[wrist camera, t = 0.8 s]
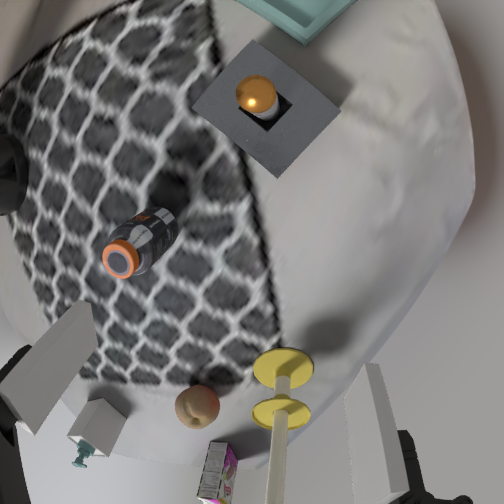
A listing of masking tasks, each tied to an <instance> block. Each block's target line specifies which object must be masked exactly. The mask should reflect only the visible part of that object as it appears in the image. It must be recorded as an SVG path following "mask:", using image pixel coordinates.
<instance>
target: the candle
mask: <svg viewBox="0 0 504 504" xmlns="http://www.w3.org/2000/svg"><path fill="white" fill-rule="evenodd" d="M253 369H254V375H255V376H256V377H257V379H258V380H259V381H260V382H261V383H263V384H264V385H266V386H268V387H271V388H274V398H270V399H267V400H263V401H261V402H259V403H258V404H256V405H255V406H254V408H253V410H252V412H251V415H252V419H253V420H254V421H255V422H256V423H257V424H258V425H259V426H262V427H264V428H266V429H270V430H272V439H271V450H270V460H269V471H268V480H267V489H266V499H265V504H283V501H284V487H285V472H286V454H287V435H288V430H293V429H297V428H299V427H301V426H303V425H305V424H306V423H307V422H308V420H309V419H310V410H309V408H308V407H307V406H306V404H304V403H302V402H300V401H298V400H295V399H291V398H290V389H292V388H295V387H299V386H301V385H302V384H304V383H305V382H307V381H308V380H309V378H310V377H311V375H312V374H313V363H312V362H311V360H310V358H309V357H308V356H307V355H305V354H304V353H302V352H301V351H298V350H294V349H290V348H275V349H272V350H269V351H266V352H264V353H263V354H262V355H260V356H259V357H258V358H257V359H256V361H255V363H254V366H253Z"/></svg>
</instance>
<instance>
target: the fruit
mask: <svg viewBox="0 0 504 504" xmlns="http://www.w3.org/2000/svg"><path fill="white" fill-rule="evenodd" d="M219 410H220V402H219V399H218V397H217V395H216V394H215V392H214V391H213V390H212V389H210V388H209V387H207V386H204V385H194V386H192V387H190V388H188V389H186V390H184V391H183V392H182V393H181V394H180V395H179V396H178V397H177V399H176V402H175V411H176V414H177V416H178V418H179V420H180V421H181V422H182V423H183V424H184V425H185V426H187V427H189V428H193V429H201V428H204V427H206V426H208V425H209V424H210V423H212V422H213V421H214V420H215V419H216V418H217V416H218V414H219Z"/></svg>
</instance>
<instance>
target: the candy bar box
mask: <svg viewBox="0 0 504 504" xmlns="http://www.w3.org/2000/svg"><path fill="white" fill-rule="evenodd" d="M237 464H238V460H237V459H236V457H235V455H234V453H233V451H232V449H231V447H230V445H229V443H228V442H212V441H210V444H209V448H208V452H207V456H206V460H205V464H204V469H203V473H202V477H201V481H200V485H199V490H198V493H197V498H198V499H199V500H200V501H201V502H202V503H203V504H231V500H232V494H233V487H234V482H235V475H236V470H237Z"/></svg>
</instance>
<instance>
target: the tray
mask: <svg viewBox="0 0 504 504" xmlns="http://www.w3.org/2000/svg"><path fill="white" fill-rule="evenodd" d="M235 1H237V2H239V3H240V4H242V5H244V6H246V7H247V8H249V9H251V10H252V11H254V12H255V13H257V14H259V15H260V16H262V17H263V18H265V19H266V20H268V21H269V22H271V23H272V24H274V25H275V26H277V27H278V28H280V29H281V30H283V31H284V32H285V33H287V34H288V35H290V36H291V37H292V38H294V39H295V40H297V41H298V42H299V43H301V44H302V45H303V46H304V47H305V46H307V45H308V44H309V43H310V42H311V41H312V40H313V39H314V38H315V37H316V36H317V35H318V34H319V33H320V32H322V31H323V30H324V29H325V28H326V27H327V26H328V25H329V24H330V23H332V22H333V21H334V20H335V19H336V18H337V17H338V16H340V15H341V14H342V13H343V12H344V11H345V10H347V9H348V8H349V7H350V6H351V5H353V4H354V3H355V2H356V1H358V0H235Z"/></svg>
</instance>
